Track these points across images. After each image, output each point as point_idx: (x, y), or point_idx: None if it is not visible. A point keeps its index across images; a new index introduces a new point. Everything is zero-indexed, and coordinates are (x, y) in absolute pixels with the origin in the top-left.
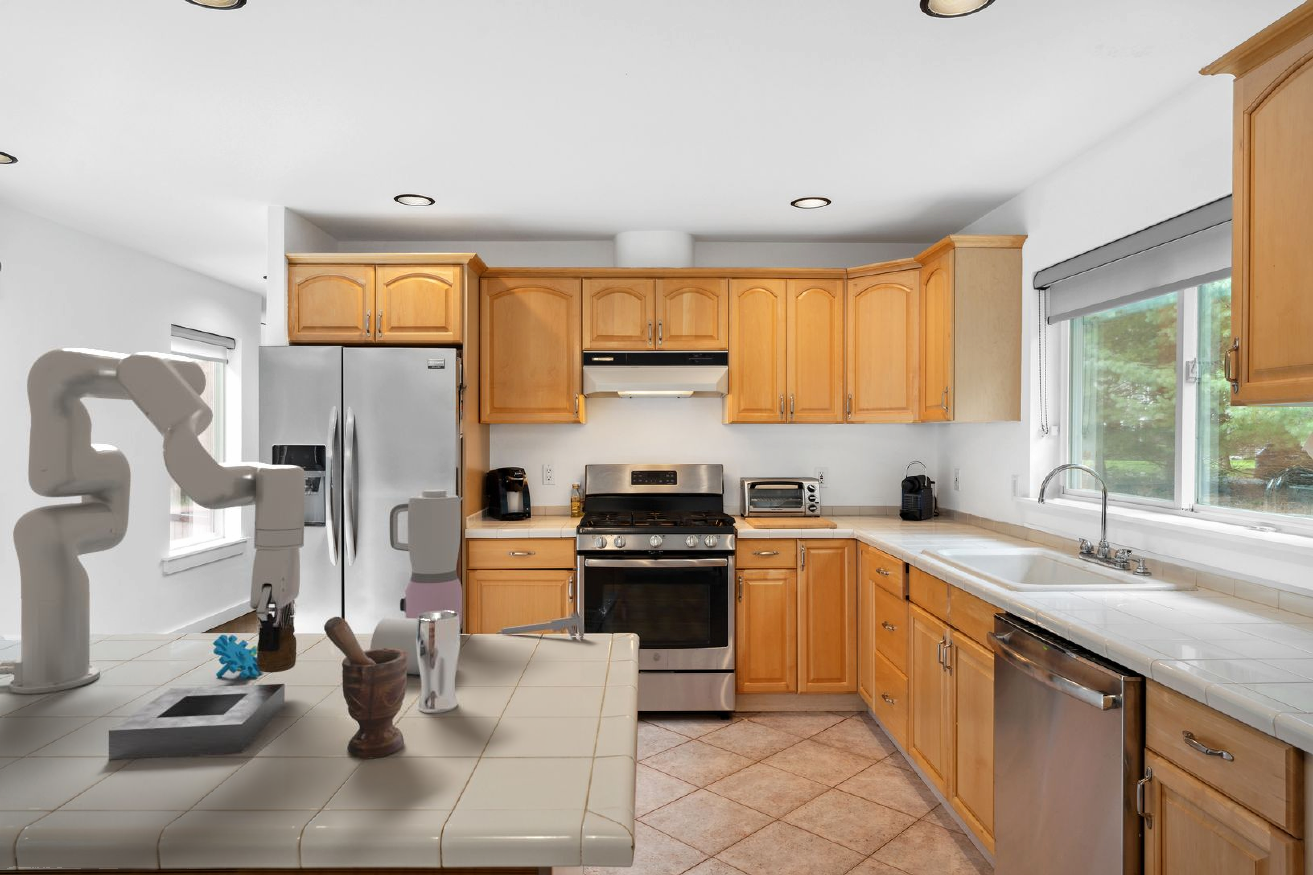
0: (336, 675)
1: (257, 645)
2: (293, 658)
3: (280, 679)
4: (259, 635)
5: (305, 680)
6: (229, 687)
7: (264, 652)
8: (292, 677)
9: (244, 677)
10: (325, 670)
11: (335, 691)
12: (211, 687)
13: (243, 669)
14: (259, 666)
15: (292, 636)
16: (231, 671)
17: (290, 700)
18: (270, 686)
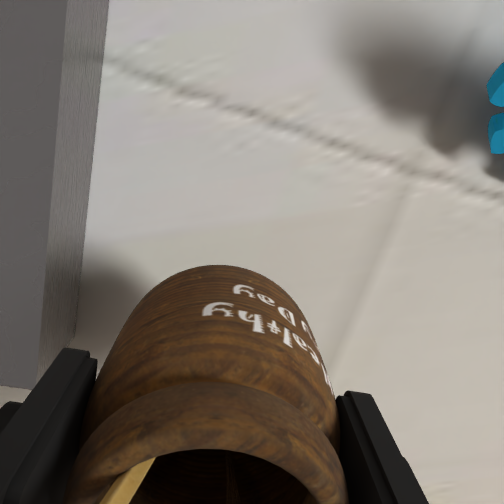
0: (402, 452)
1: (195, 318)
2: (180, 454)
3: (441, 272)
4: (7, 424)
5: (387, 362)
6: (29, 152)
7: (105, 361)
8: (448, 312)
9: (488, 133)
10: (483, 412)
11: None
12: (51, 53)
13: None
14: (151, 290)
15: None
16: (491, 77)
17: None
18: (3, 339)
